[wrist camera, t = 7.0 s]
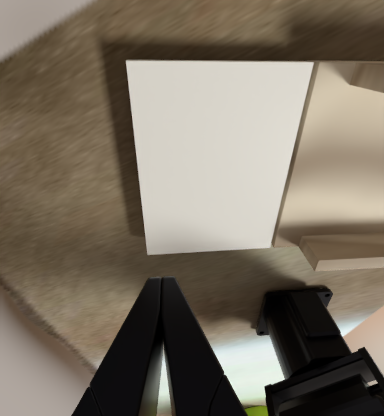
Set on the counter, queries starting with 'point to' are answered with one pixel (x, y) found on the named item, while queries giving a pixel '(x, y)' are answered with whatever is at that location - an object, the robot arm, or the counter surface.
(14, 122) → the counter surface
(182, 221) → the panel
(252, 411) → the soap dispenser
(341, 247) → the tray
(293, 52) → the counter surface
